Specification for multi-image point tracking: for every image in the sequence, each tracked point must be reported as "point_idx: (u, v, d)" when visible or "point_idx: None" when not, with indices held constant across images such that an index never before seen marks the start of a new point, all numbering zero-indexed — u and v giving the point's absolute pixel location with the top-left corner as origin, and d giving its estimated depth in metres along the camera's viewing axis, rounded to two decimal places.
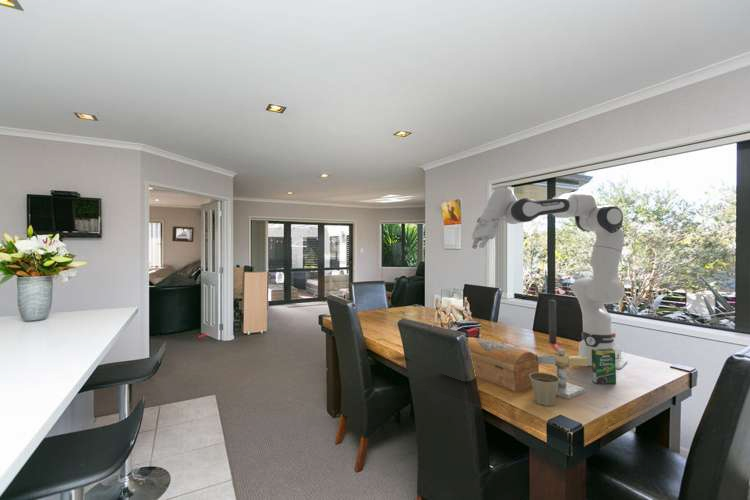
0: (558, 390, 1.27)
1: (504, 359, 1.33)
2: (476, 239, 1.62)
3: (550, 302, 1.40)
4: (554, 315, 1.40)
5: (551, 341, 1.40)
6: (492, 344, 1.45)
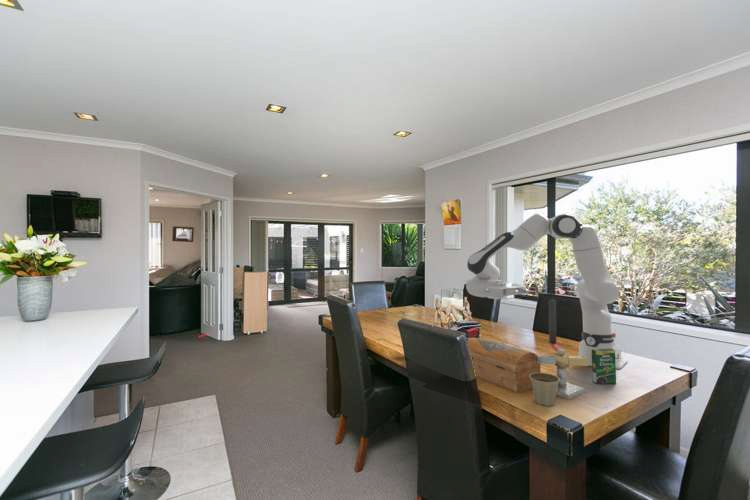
0: (558, 390, 1.27)
1: (506, 360, 1.33)
2: (519, 291, 1.58)
3: (550, 302, 1.40)
4: (554, 315, 1.40)
5: (551, 341, 1.40)
6: (494, 344, 1.44)
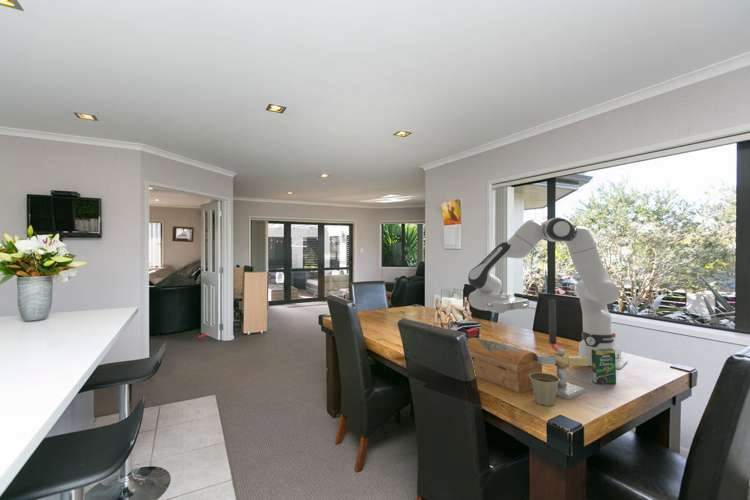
0: (558, 390, 1.27)
1: (508, 360, 1.32)
2: None
3: (550, 302, 1.40)
4: (554, 315, 1.40)
5: (551, 341, 1.40)
6: (495, 345, 1.44)
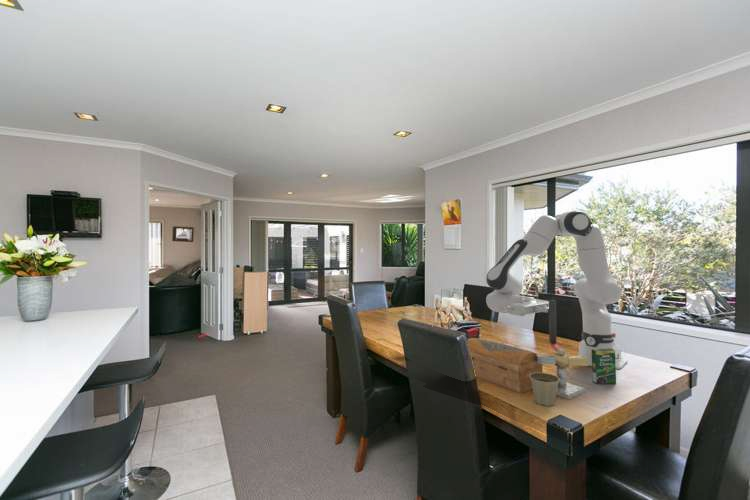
0: (558, 390, 1.27)
1: (509, 360, 1.32)
2: None
3: (550, 302, 1.40)
4: (554, 315, 1.40)
5: (551, 341, 1.40)
6: (495, 345, 1.44)
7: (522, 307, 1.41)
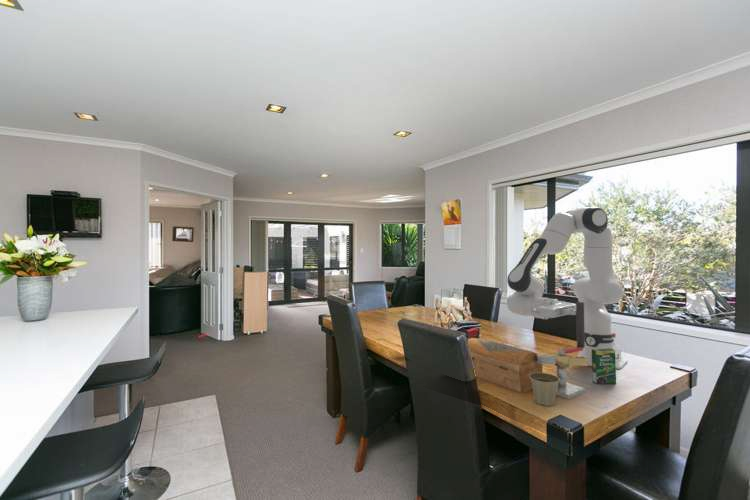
0: (558, 390, 1.27)
1: (509, 360, 1.32)
2: None
3: (576, 304, 1.35)
4: (579, 318, 1.34)
5: (577, 344, 1.35)
6: (495, 345, 1.44)
7: (549, 310, 1.35)
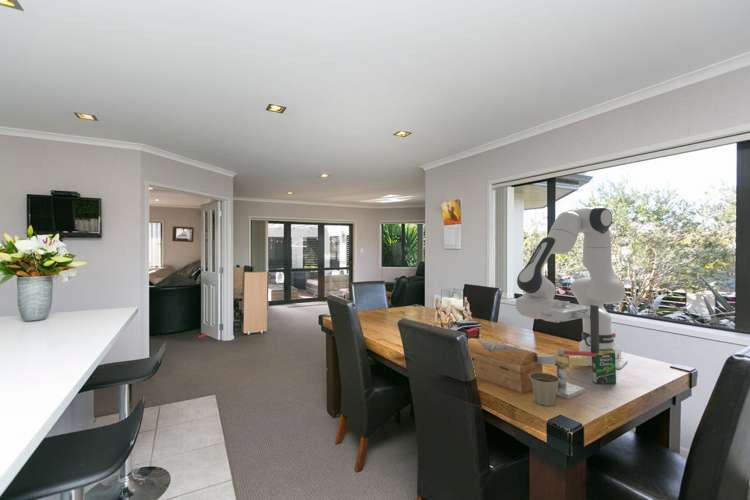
0: (558, 390, 1.27)
1: (510, 360, 1.32)
2: None
3: None
4: (591, 322, 1.27)
5: None
6: (495, 345, 1.43)
7: (561, 313, 1.28)
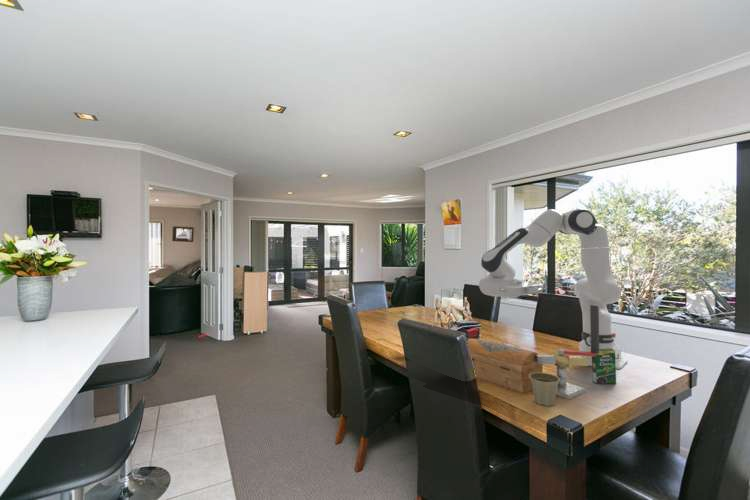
0: (558, 390, 1.27)
1: (511, 360, 1.32)
2: None
3: None
4: (591, 322, 1.27)
5: None
6: (495, 345, 1.43)
7: (514, 288, 1.44)
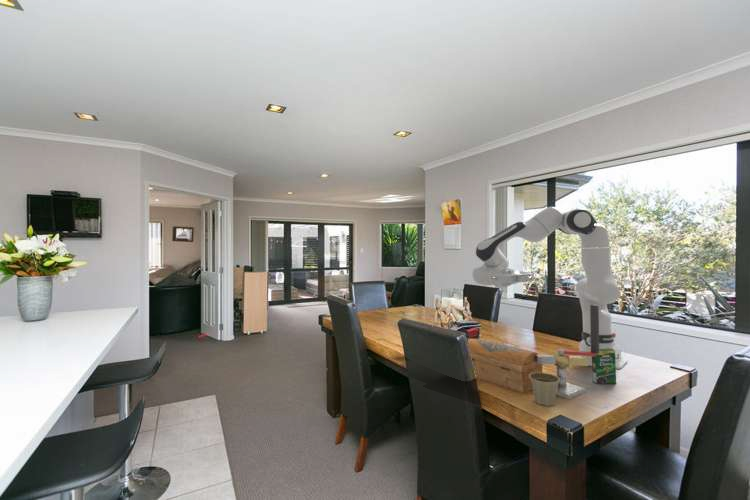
0: (558, 390, 1.27)
1: (511, 360, 1.32)
2: None
3: None
4: (591, 322, 1.27)
5: None
6: (495, 345, 1.43)
7: (505, 276, 1.48)
